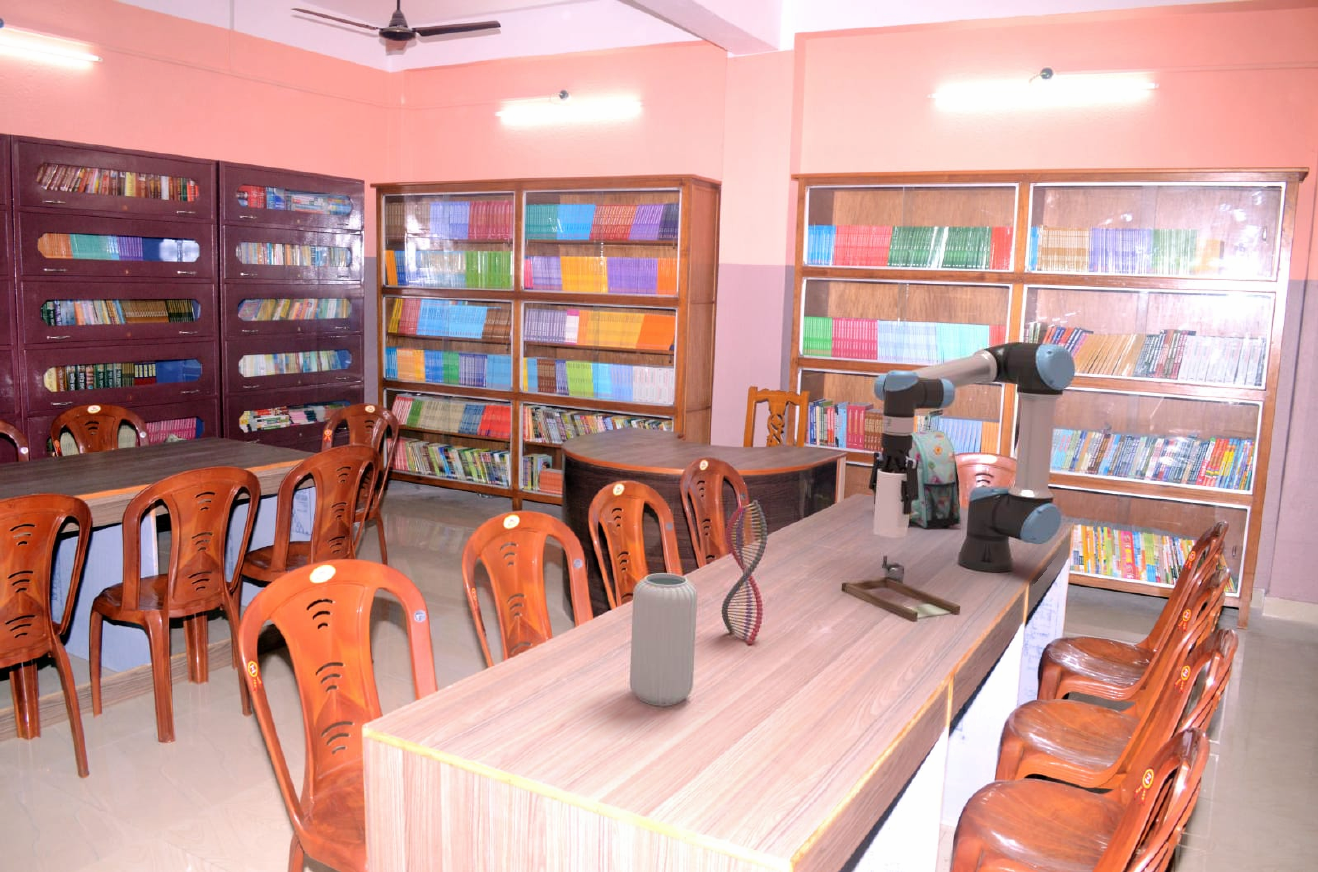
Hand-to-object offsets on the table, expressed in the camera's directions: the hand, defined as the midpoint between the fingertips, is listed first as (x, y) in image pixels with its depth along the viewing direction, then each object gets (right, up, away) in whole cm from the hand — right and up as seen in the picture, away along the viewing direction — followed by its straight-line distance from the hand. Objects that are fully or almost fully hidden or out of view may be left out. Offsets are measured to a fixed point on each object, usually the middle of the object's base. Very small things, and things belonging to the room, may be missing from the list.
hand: (890, 522), depth 242 cm
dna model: (-41, -22, -33) cm, 57 cm away
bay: (+1, -20, -2) cm, 20 cm away
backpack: (+31, -8, +93) cm, 98 cm away
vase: (-58, -26, -66) cm, 92 cm away
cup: (0, -3, 0) cm, 3 cm away
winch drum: (+4, -18, +13) cm, 22 cm away
